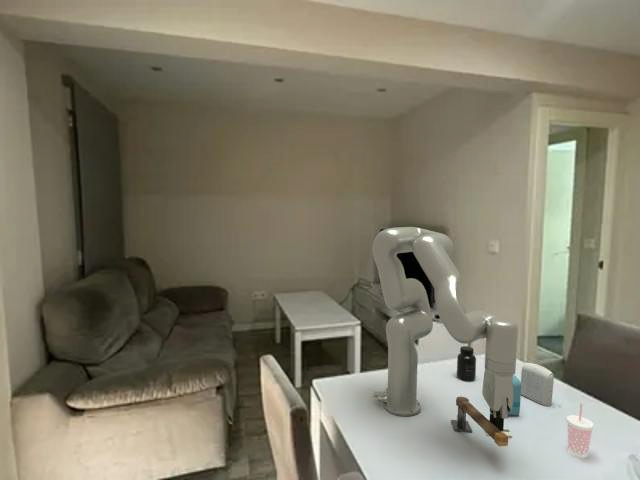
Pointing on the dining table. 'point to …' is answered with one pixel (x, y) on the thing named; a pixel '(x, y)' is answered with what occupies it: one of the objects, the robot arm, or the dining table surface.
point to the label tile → (505, 432)
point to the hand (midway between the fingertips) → (496, 429)
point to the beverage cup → (579, 434)
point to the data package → (516, 396)
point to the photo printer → (537, 383)
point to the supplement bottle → (466, 364)
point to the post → (461, 422)
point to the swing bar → (483, 422)
